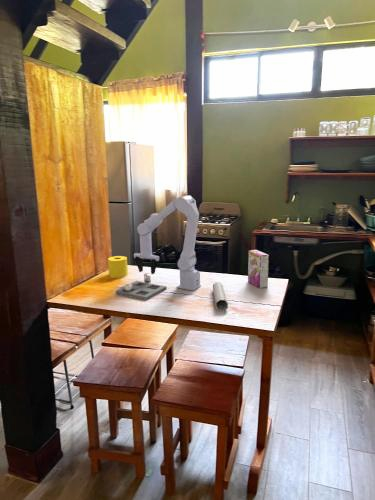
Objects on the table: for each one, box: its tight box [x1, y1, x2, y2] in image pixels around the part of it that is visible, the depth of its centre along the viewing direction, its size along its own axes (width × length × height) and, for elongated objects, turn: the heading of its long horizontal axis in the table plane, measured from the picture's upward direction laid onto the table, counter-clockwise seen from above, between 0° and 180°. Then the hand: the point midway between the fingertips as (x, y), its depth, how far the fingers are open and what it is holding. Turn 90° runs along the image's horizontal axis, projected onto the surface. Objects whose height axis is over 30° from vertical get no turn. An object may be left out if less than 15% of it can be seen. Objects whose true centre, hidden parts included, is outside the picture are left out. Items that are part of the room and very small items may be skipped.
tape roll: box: [107, 255, 129, 279], centre depth 193 cm, size 10×10×9 cm
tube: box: [212, 281, 229, 312], centre depth 157 cm, size 5×5×25 cm
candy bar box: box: [247, 249, 270, 289], centre depth 174 cm, size 11×5×16 cm, turn 22°
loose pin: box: [143, 273, 151, 283], centre depth 182 cm, size 3×3×4 cm
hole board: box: [114, 280, 167, 301], centre depth 168 cm, size 18×16×2 cm
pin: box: [124, 283, 132, 293], centre depth 166 cm, size 3×3×4 cm
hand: (146, 272), depth 181 cm, fingers open, 7 cm apart
